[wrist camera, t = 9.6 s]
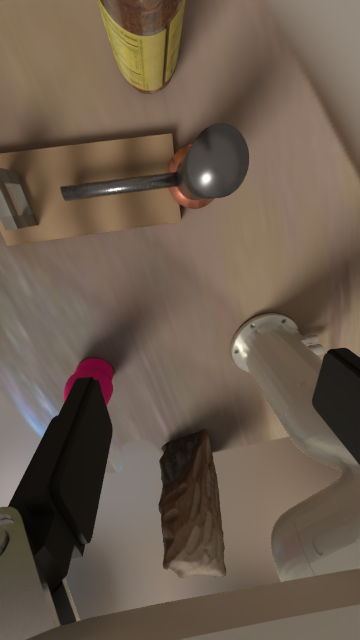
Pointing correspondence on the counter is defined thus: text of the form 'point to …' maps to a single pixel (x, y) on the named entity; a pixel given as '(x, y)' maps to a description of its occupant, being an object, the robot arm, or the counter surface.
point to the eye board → (78, 168)
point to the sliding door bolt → (185, 171)
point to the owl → (191, 508)
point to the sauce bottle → (144, 39)
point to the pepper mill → (98, 371)
